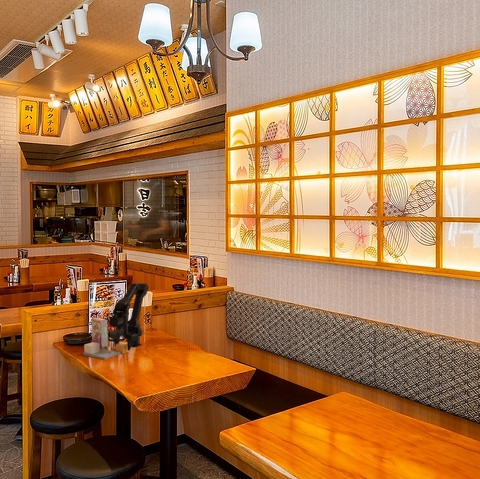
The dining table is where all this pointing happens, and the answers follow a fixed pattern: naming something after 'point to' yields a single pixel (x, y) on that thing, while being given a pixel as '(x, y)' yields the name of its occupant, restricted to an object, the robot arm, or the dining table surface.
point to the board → (99, 351)
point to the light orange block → (122, 347)
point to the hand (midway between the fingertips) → (123, 349)
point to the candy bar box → (100, 331)
